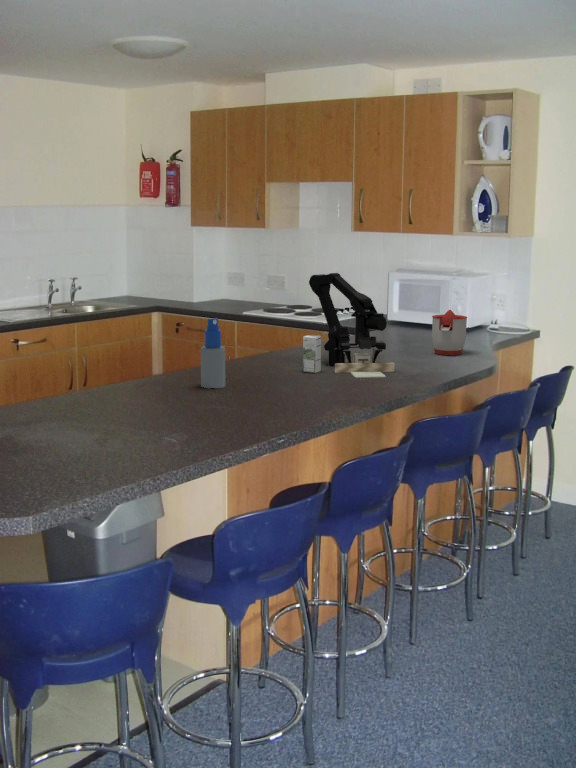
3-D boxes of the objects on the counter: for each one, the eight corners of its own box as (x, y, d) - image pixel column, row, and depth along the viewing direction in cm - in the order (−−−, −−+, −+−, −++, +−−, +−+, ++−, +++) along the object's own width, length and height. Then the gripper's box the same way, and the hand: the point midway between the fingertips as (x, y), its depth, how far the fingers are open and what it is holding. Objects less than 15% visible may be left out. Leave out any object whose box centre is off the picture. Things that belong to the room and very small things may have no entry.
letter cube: (355, 370, 354) (355, 356, 353) (352, 368, 360) (353, 353, 359) (370, 370, 355) (370, 355, 353) (367, 367, 361) (367, 353, 359)
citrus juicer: (426, 355, 390) (427, 311, 386) (434, 350, 406) (436, 307, 402) (461, 358, 385) (463, 312, 381) (468, 352, 400) (470, 308, 396)
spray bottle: (229, 387, 320) (228, 319, 315) (206, 389, 316) (205, 320, 311) (219, 382, 328) (219, 316, 323) (197, 385, 324) (196, 317, 319)
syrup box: (321, 370, 353) (321, 335, 350) (315, 373, 347) (315, 337, 345) (308, 369, 355) (308, 334, 352) (302, 372, 350) (302, 336, 347)
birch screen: (335, 372, 349) (335, 364, 348) (334, 372, 350) (334, 363, 350) (394, 371, 352) (394, 363, 351) (393, 371, 353) (393, 362, 352)
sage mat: (355, 377, 339) (355, 376, 339) (350, 373, 348) (350, 372, 348) (385, 377, 340) (385, 376, 340) (380, 372, 350) (380, 371, 350)
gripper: (342, 331, 345) (342, 370, 348) (389, 330, 347) (388, 369, 350) (338, 327, 356) (337, 365, 359) (383, 327, 358) (382, 364, 361)
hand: (361, 366), depth 357 cm, fingers open, 9 cm apart
